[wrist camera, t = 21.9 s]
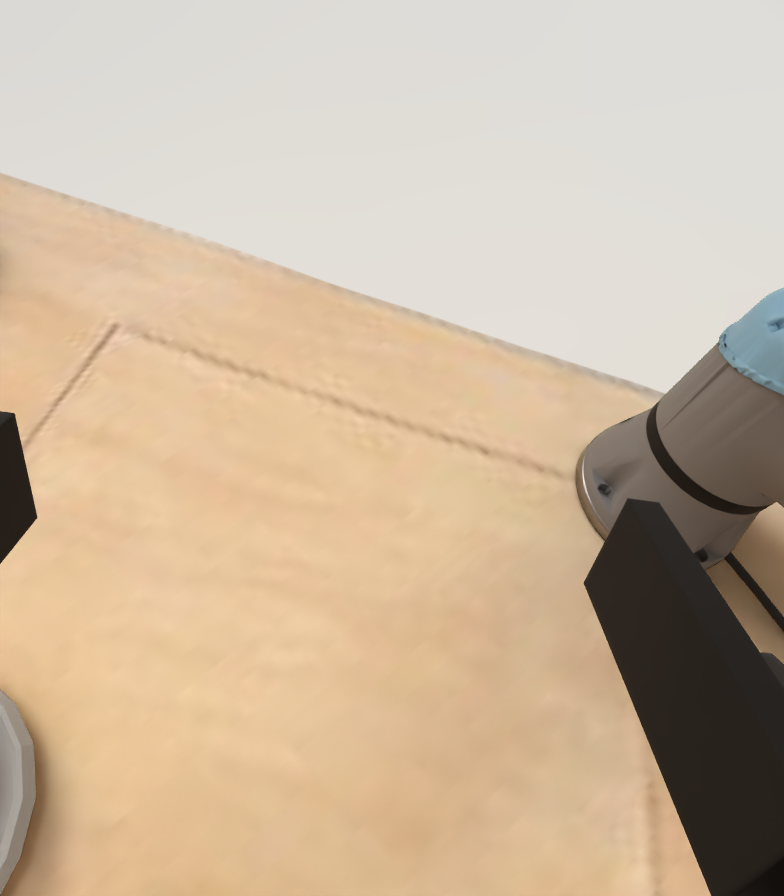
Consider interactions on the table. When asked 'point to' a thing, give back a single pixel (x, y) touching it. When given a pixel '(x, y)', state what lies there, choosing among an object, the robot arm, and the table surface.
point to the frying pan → (14, 785)
